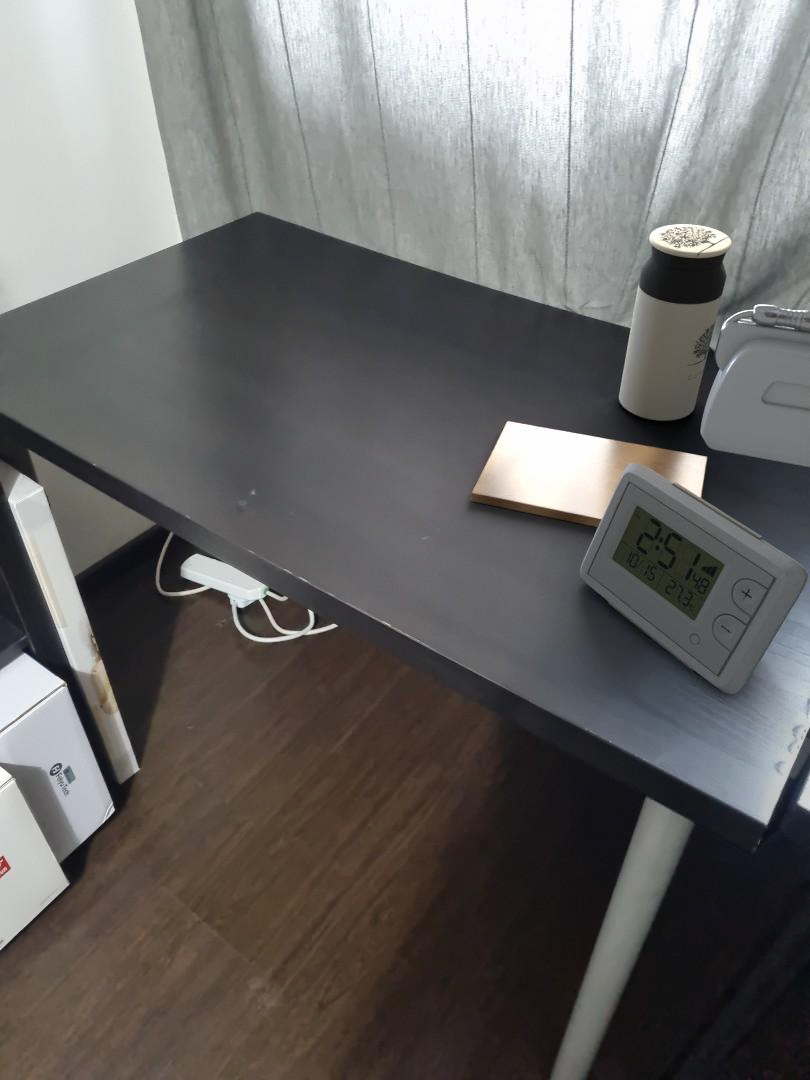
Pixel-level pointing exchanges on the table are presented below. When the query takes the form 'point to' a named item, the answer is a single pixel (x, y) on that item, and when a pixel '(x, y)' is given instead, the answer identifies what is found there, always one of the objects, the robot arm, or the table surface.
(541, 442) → the wooden board
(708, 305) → the travel mug
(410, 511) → the table surface
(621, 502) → the digital clock
